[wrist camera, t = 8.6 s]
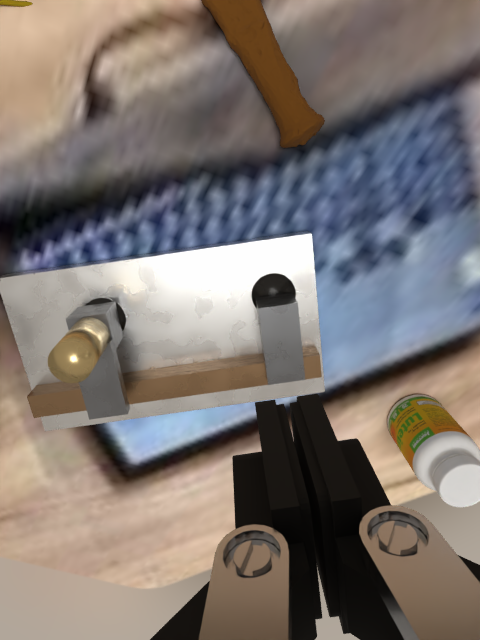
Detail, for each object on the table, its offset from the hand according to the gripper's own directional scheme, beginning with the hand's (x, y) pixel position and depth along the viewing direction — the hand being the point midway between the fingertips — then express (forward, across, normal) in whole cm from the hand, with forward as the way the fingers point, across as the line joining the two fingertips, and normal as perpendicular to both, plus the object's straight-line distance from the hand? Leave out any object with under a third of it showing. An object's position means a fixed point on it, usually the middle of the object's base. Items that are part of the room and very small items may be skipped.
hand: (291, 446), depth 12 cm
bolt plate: (+27, +7, +6) cm, 29 cm away
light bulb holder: (+25, +12, +6) cm, 29 cm away
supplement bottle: (+27, -14, +18) cm, 36 cm away
